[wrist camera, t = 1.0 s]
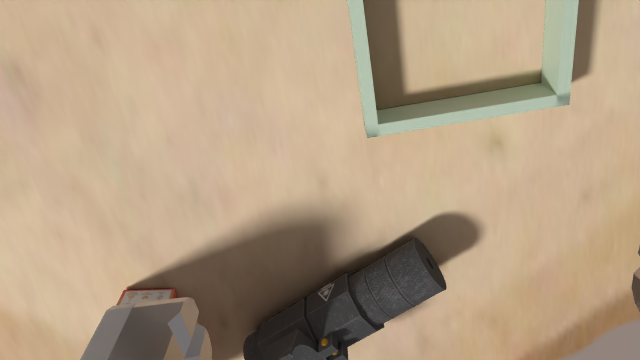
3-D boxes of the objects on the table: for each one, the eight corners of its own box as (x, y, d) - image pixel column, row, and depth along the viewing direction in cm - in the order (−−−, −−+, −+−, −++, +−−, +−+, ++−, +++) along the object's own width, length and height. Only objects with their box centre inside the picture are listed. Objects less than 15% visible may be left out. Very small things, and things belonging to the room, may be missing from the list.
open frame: (341, -39, 34) (343, -35, 32) (564, -82, 33) (586, -82, 31) (363, 123, 41) (367, 137, 38) (552, 92, 40) (569, 104, 37)
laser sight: (447, 272, 50) (476, 348, 41) (285, 362, 56) (280, 445, 48) (396, 212, 46) (415, 282, 37) (228, 317, 52) (211, 397, 44)
